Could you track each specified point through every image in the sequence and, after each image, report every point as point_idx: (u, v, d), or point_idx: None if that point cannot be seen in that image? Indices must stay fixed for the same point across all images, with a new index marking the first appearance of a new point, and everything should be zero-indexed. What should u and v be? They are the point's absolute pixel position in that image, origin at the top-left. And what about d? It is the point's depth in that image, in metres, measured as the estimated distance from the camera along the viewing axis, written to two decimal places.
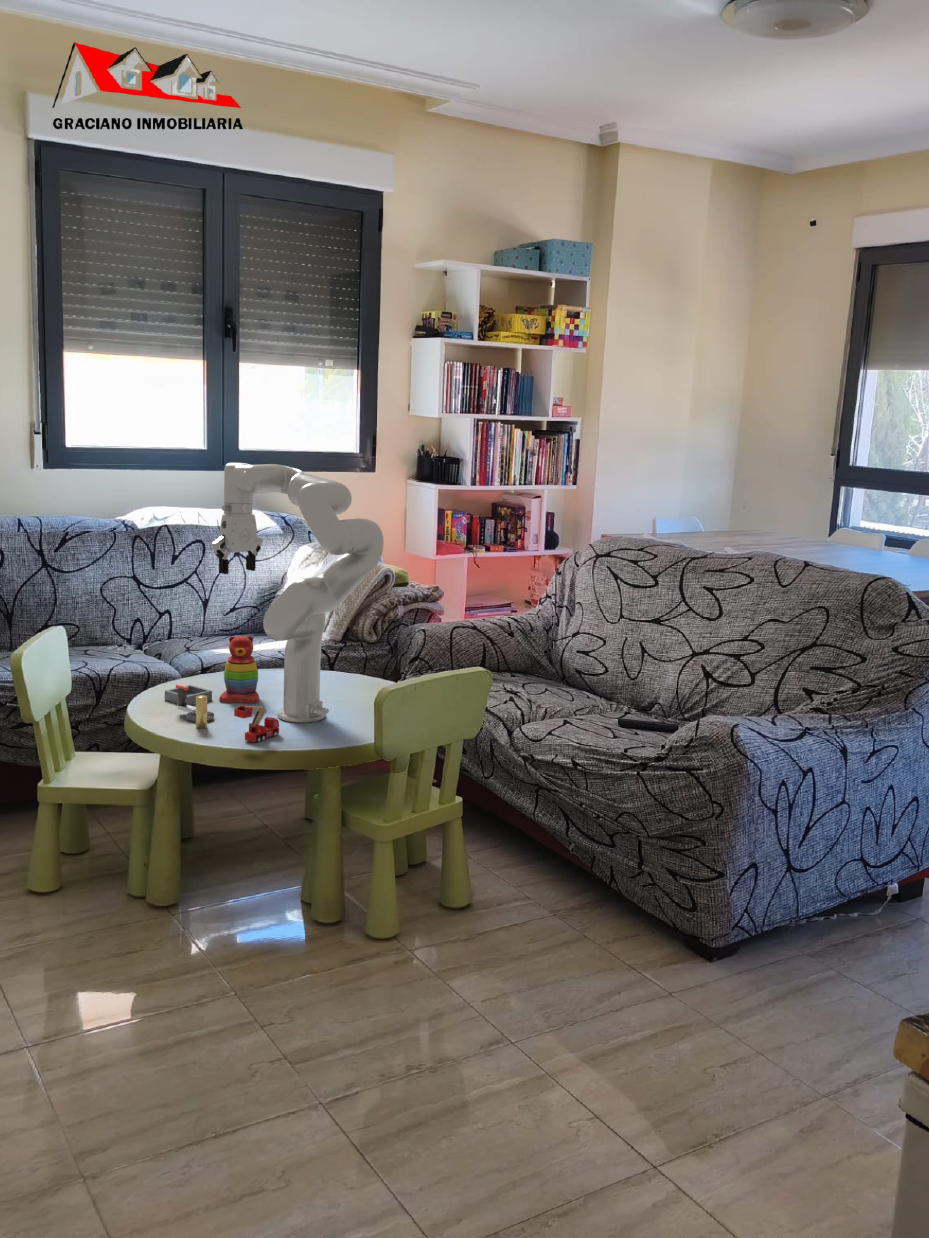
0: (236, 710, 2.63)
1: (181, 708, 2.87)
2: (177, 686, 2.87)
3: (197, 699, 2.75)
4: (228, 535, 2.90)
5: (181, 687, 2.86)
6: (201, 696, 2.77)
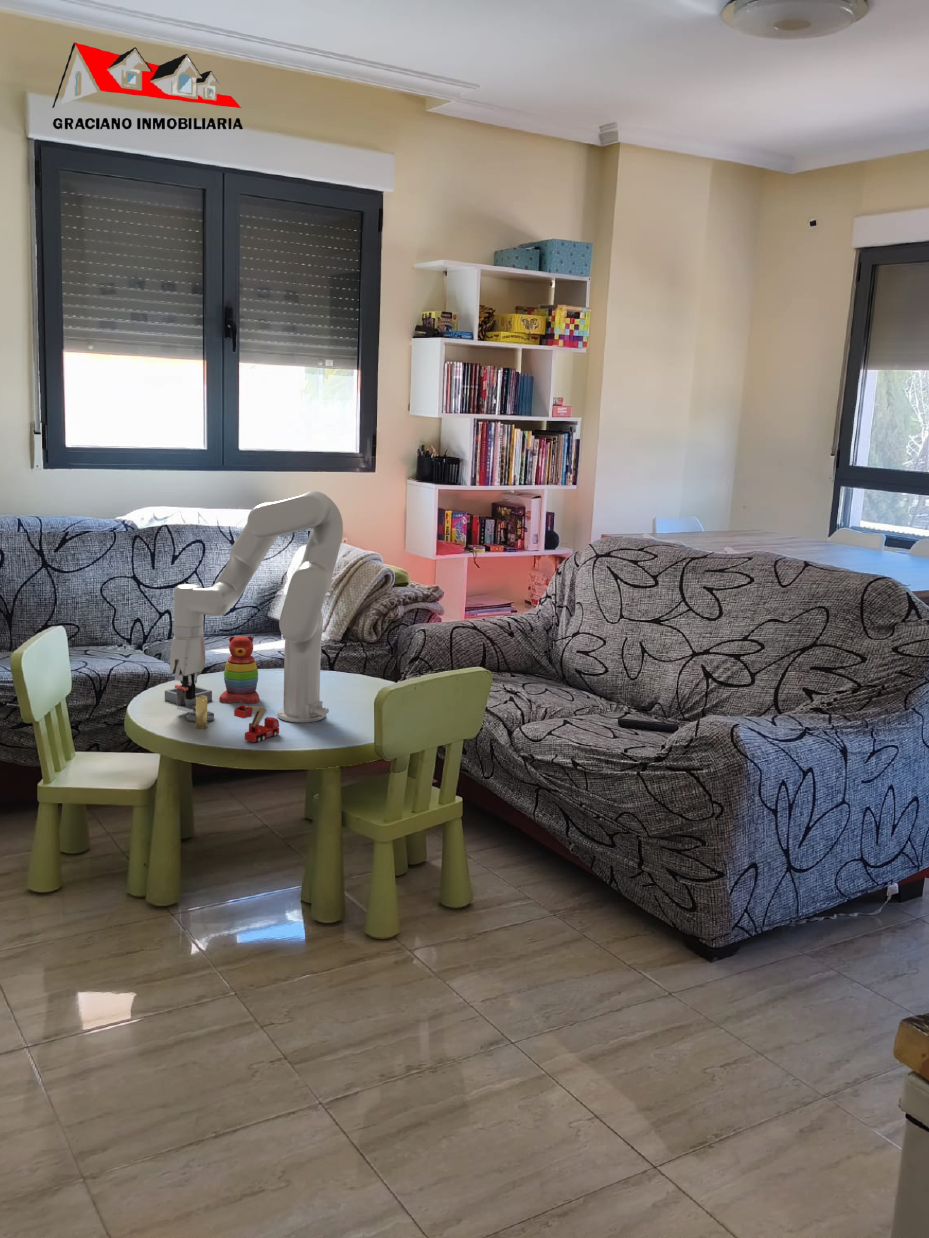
0: (236, 710, 2.63)
1: (180, 708, 2.87)
2: (176, 686, 2.87)
3: (197, 699, 2.75)
4: None
5: (180, 687, 2.86)
6: (201, 696, 2.77)
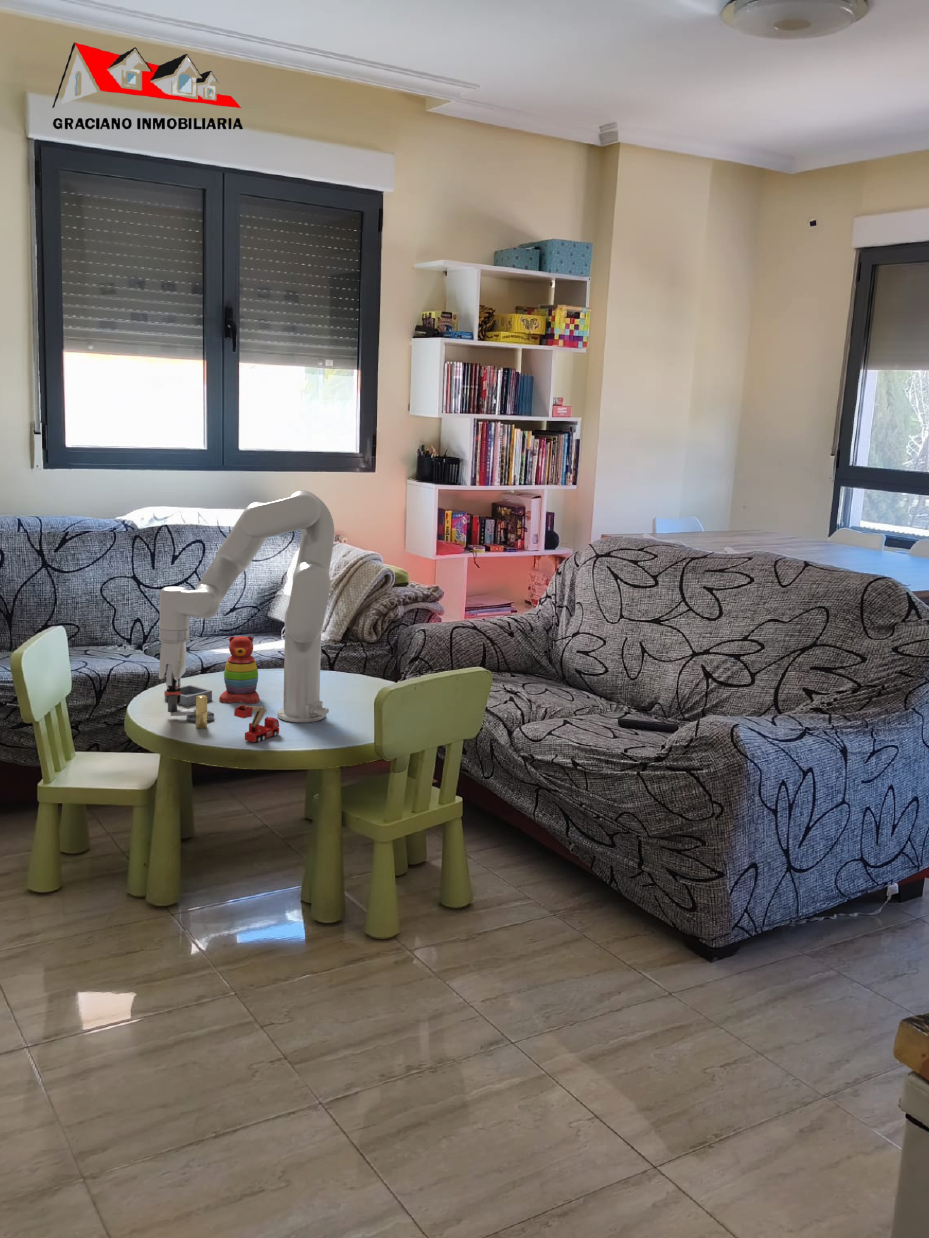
0: (236, 710, 2.63)
1: (176, 714, 2.81)
2: (167, 693, 2.80)
3: (197, 699, 2.75)
4: None
5: (173, 693, 2.81)
6: (201, 696, 2.77)
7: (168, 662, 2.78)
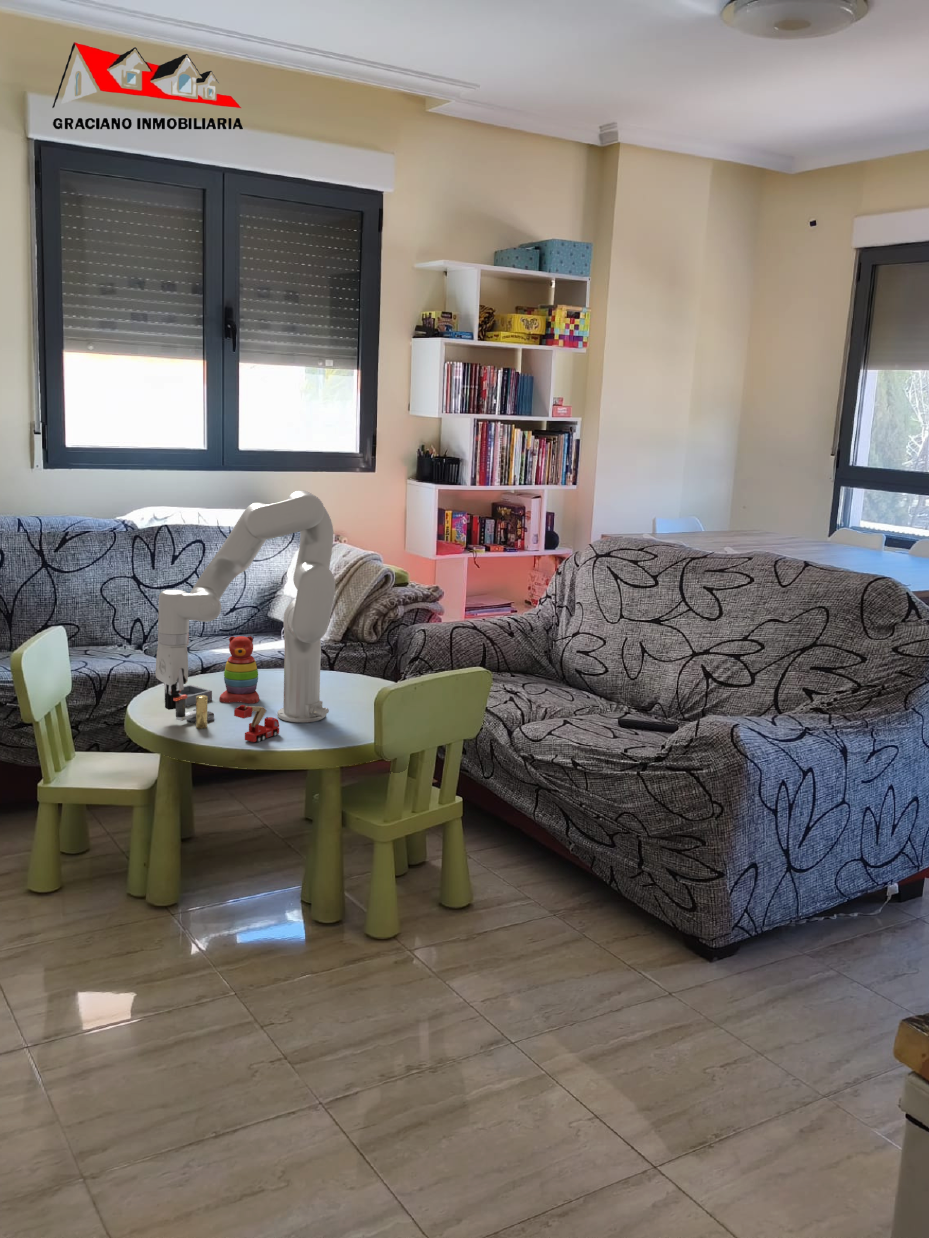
0: (236, 710, 2.63)
1: (185, 718, 2.79)
2: (177, 698, 2.76)
3: (197, 699, 2.75)
4: None
5: (182, 697, 2.77)
6: (201, 696, 2.77)
7: (180, 667, 2.74)
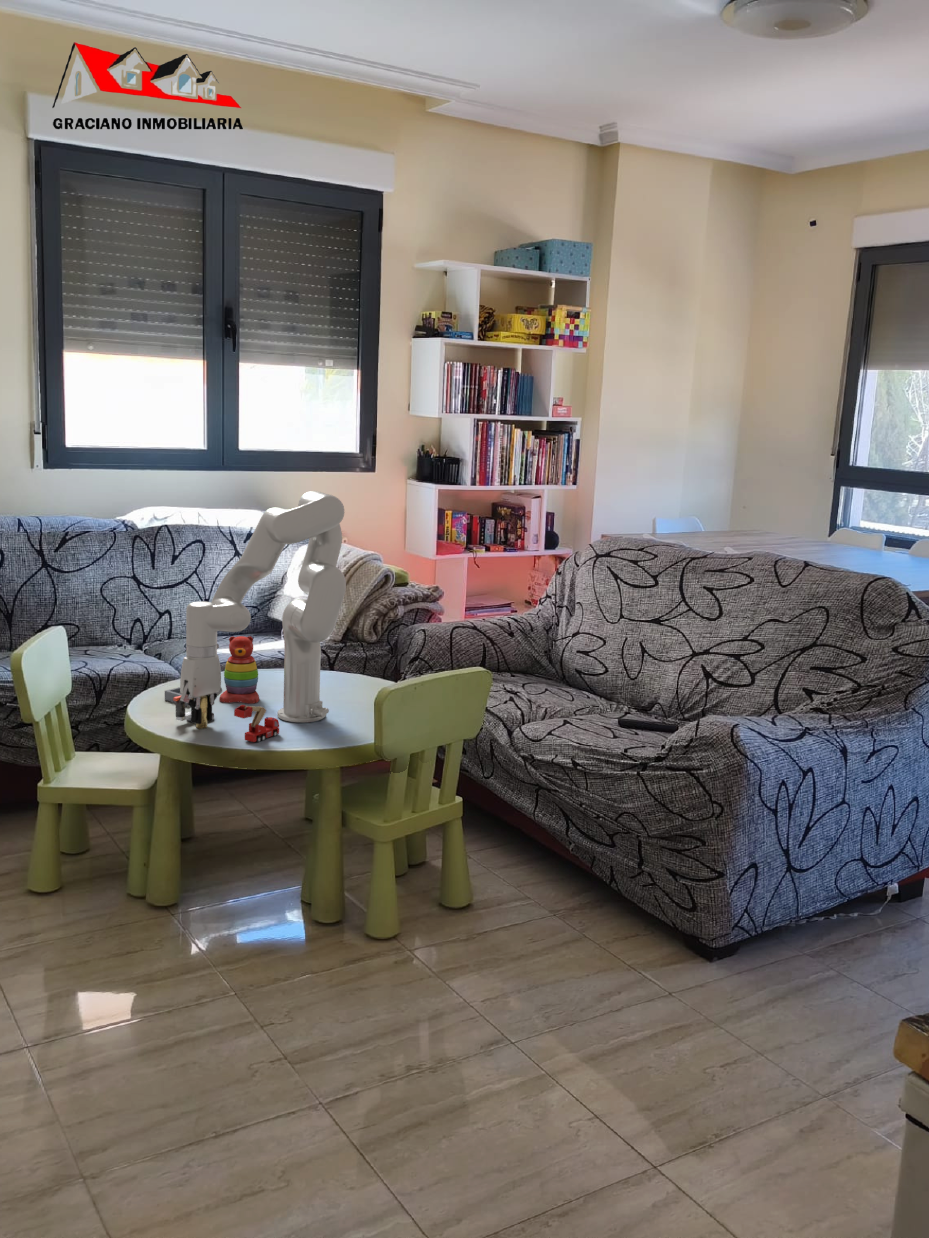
0: (236, 710, 2.63)
1: (185, 718, 2.79)
2: (177, 698, 2.76)
3: None
4: None
5: None
6: (201, 696, 2.77)
7: (185, 678, 2.71)
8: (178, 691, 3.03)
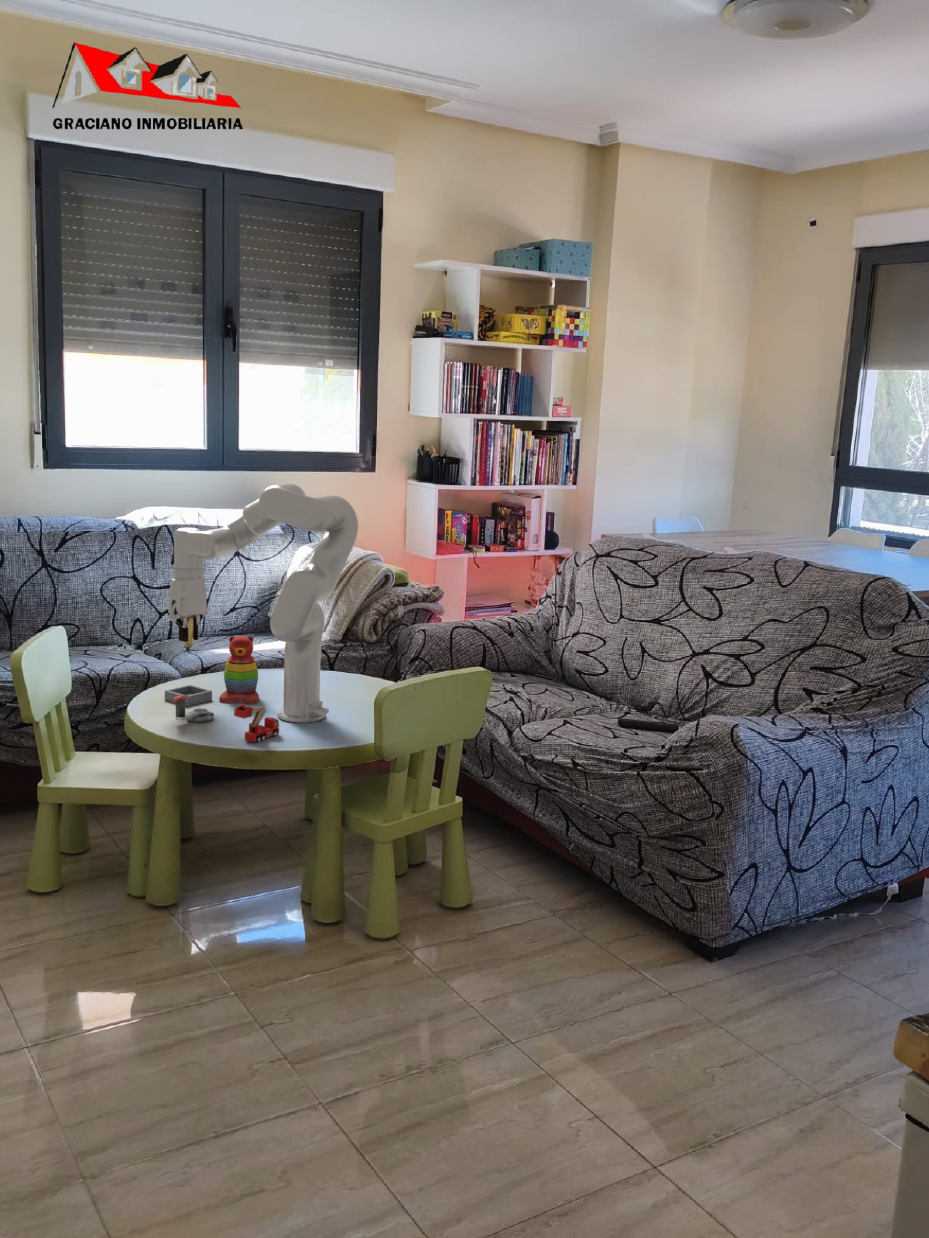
0: (236, 710, 2.63)
1: (185, 718, 2.79)
2: (177, 698, 2.76)
3: None
4: None
5: (182, 697, 2.77)
6: (188, 616, 2.97)
7: (173, 598, 2.92)
8: (178, 691, 3.03)
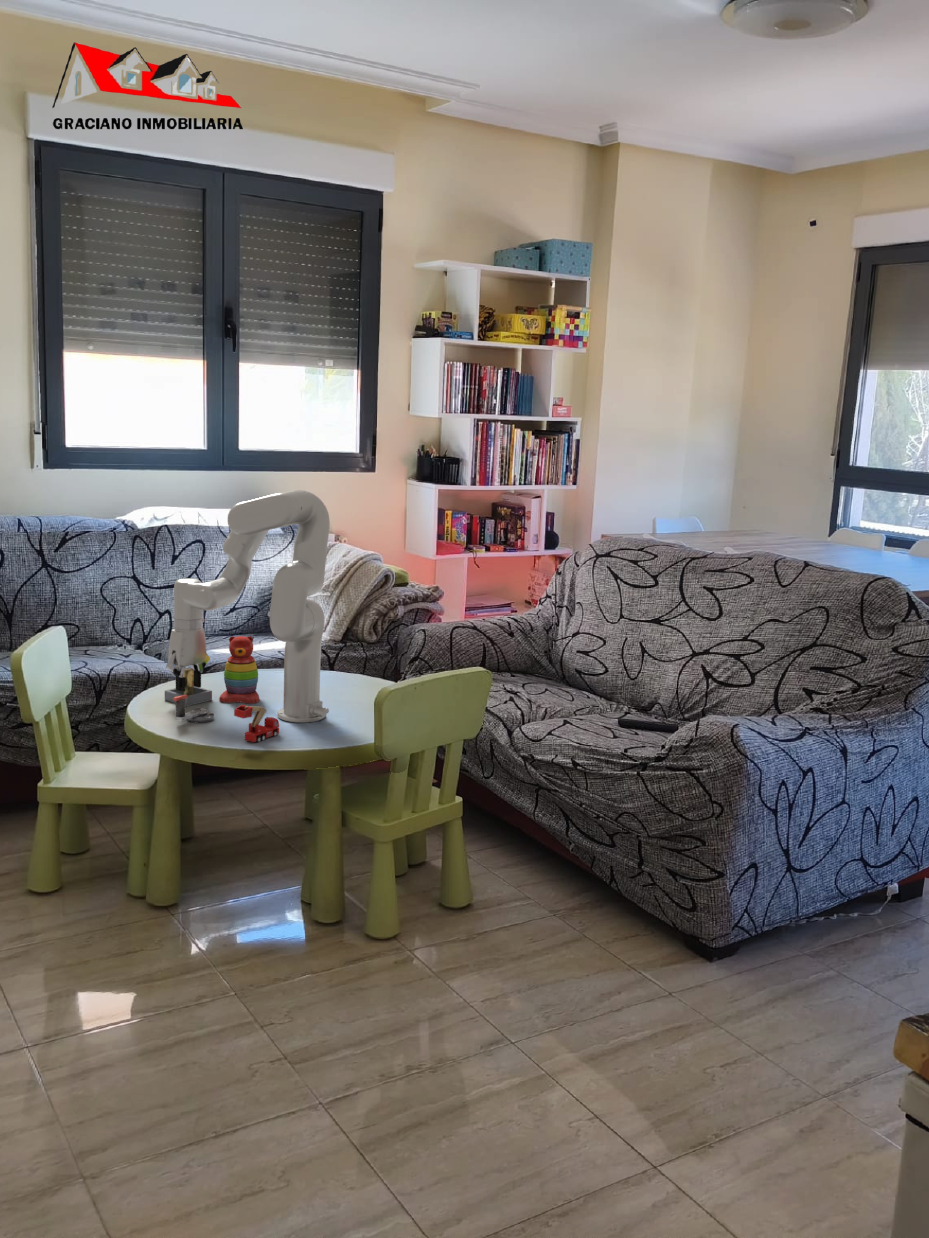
0: (236, 710, 2.63)
1: (185, 718, 2.79)
2: (177, 698, 2.76)
3: (184, 672, 2.99)
4: None
5: (182, 697, 2.77)
6: (188, 669, 3.00)
7: (173, 649, 2.94)
8: (178, 691, 3.03)
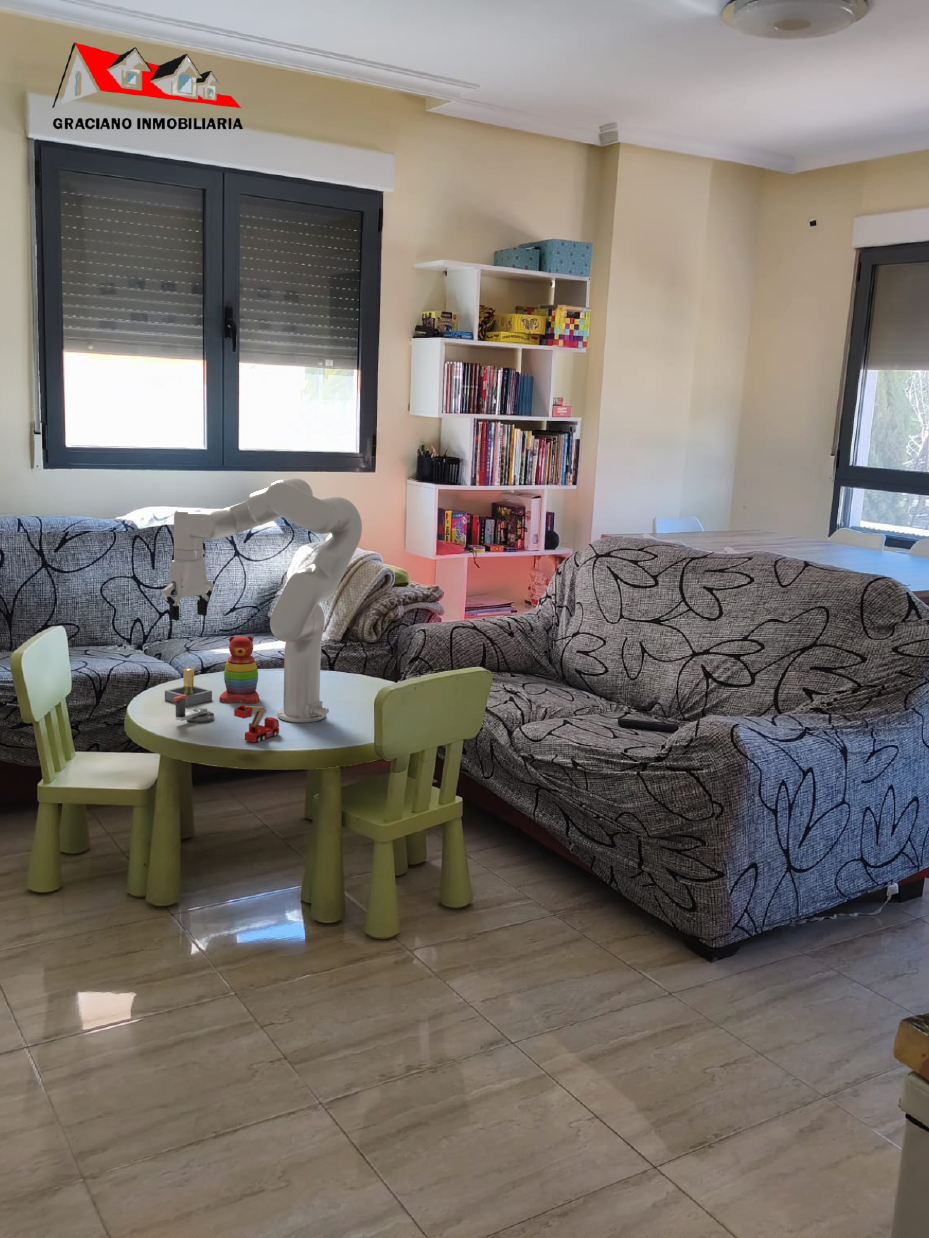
0: (236, 710, 2.63)
1: (185, 718, 2.79)
2: (177, 698, 2.76)
3: (184, 671, 2.99)
4: None
5: (182, 697, 2.77)
6: (188, 669, 3.00)
7: (173, 579, 2.91)
8: (178, 691, 3.03)
